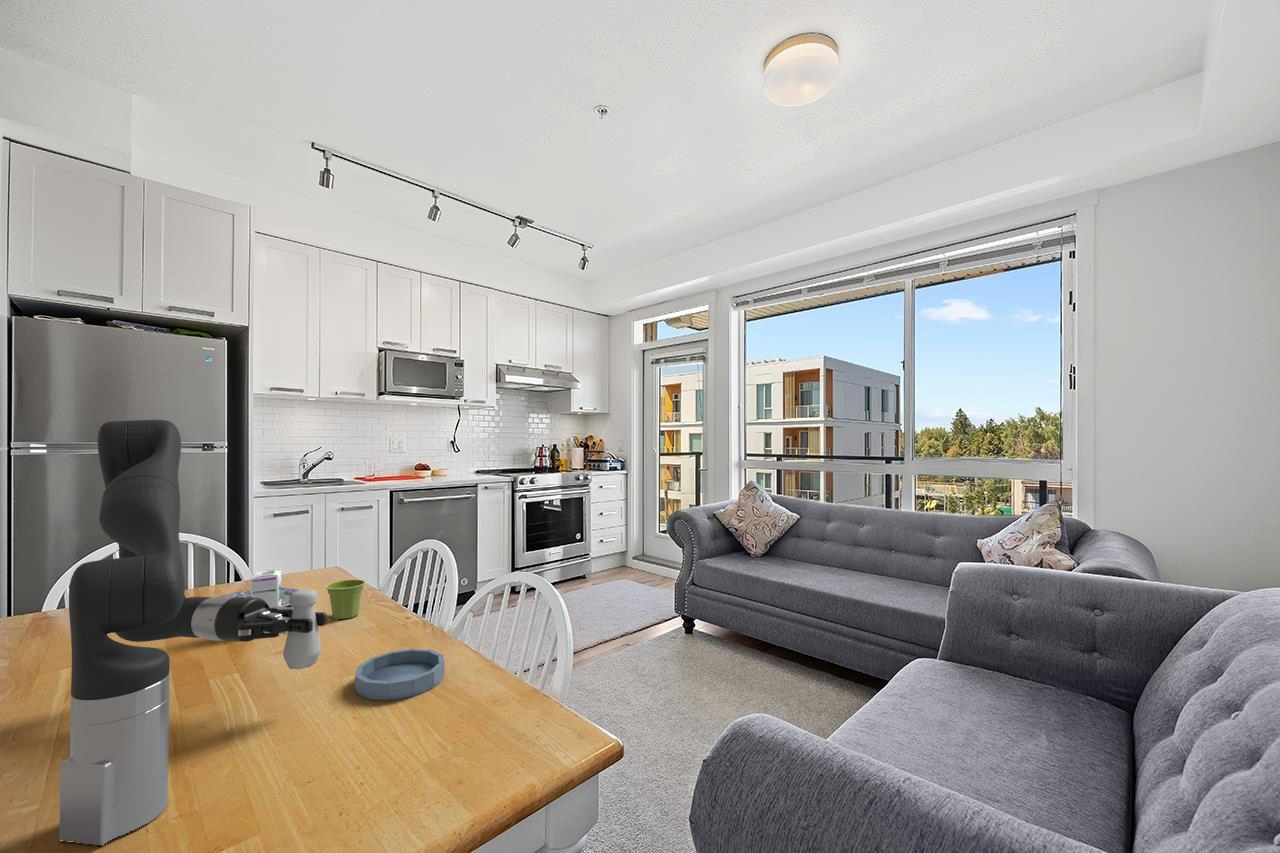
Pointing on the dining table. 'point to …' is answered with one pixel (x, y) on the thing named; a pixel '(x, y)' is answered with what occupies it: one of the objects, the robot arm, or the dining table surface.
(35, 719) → the dining table surface
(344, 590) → the plant pot
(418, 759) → the dining table surface
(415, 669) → the bowl
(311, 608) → the salt shaker
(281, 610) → the robot arm
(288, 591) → the ceramic plate
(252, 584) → the syrup box
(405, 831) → the dining table surface
